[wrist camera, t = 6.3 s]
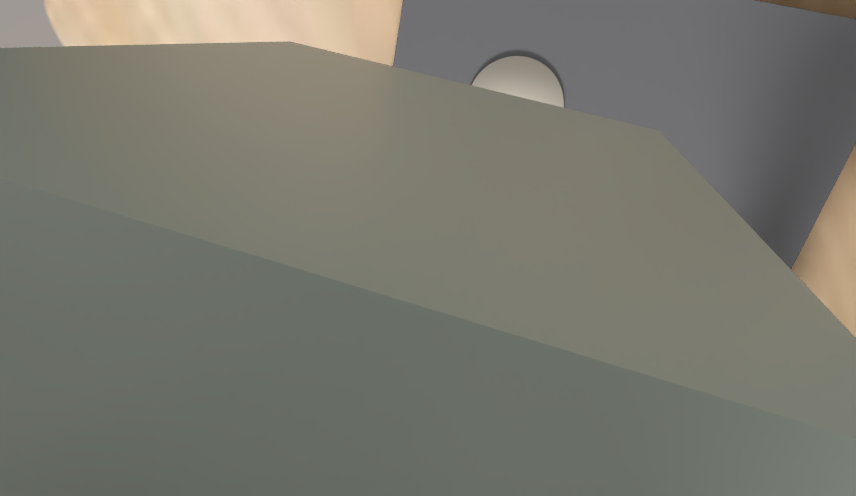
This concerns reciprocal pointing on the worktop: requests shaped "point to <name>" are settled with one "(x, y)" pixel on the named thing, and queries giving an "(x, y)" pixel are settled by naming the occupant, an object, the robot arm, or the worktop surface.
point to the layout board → (673, 84)
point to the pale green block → (384, 292)
